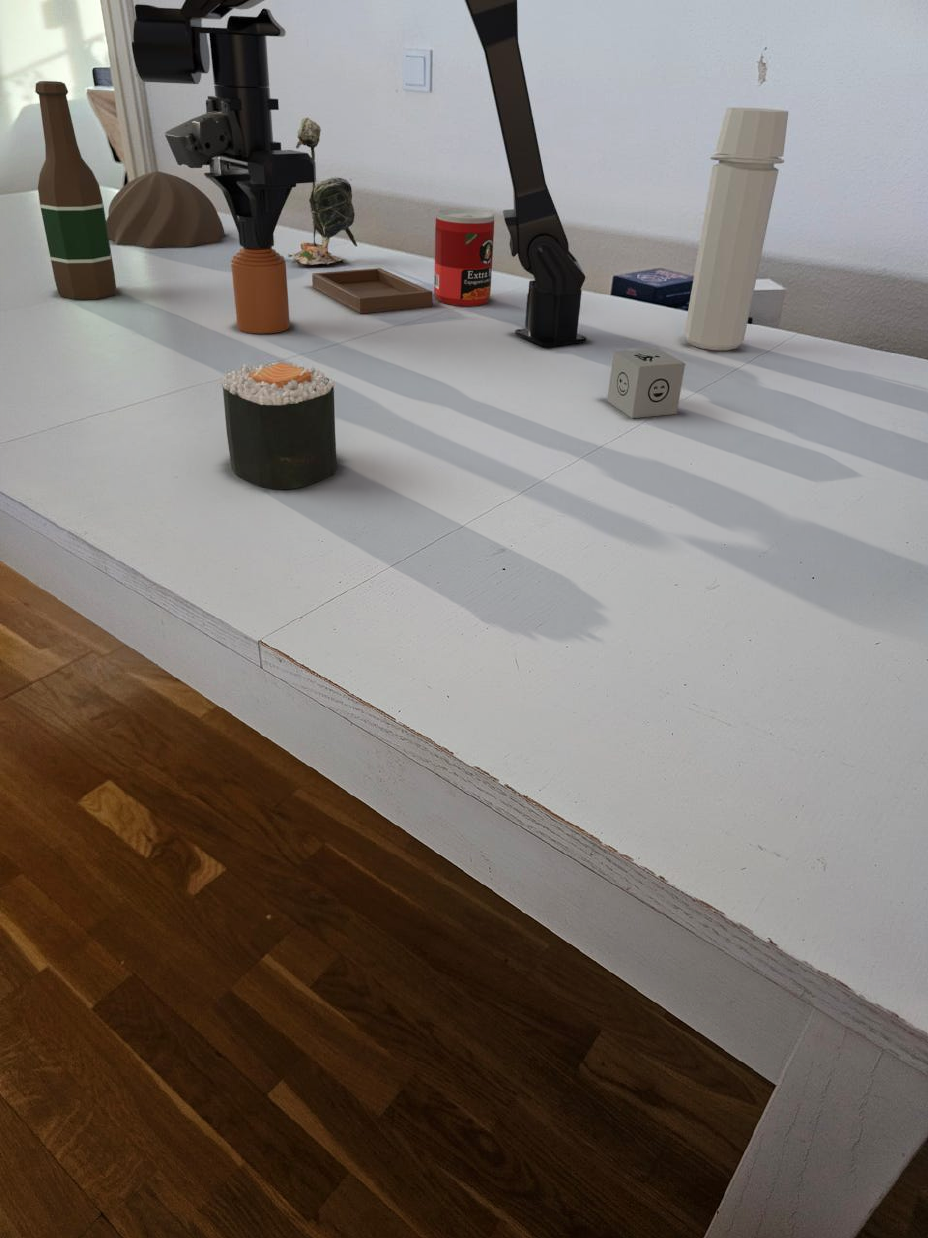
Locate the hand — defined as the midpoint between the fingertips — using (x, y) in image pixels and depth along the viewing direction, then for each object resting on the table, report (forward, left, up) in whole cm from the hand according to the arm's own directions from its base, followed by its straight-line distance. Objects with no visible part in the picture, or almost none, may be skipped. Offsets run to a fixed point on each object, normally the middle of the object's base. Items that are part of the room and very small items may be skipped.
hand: (254, 244), depth 103 cm
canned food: (+3, -30, -10) cm, 32 cm away
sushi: (-41, +13, -10) cm, 44 cm away
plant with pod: (+32, -22, -10) cm, 40 cm away
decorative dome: (+60, -5, -10) cm, 61 cm away
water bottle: (-27, -48, -10) cm, 56 cm away
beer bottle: (+24, +15, -10) cm, 30 cm away
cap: (0, 0, 0) cm, 0 cm away
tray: (+9, -19, -9) cm, 23 cm away
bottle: (0, 0, -9) cm, 9 cm away
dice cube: (-42, -24, -10) cm, 49 cm away
